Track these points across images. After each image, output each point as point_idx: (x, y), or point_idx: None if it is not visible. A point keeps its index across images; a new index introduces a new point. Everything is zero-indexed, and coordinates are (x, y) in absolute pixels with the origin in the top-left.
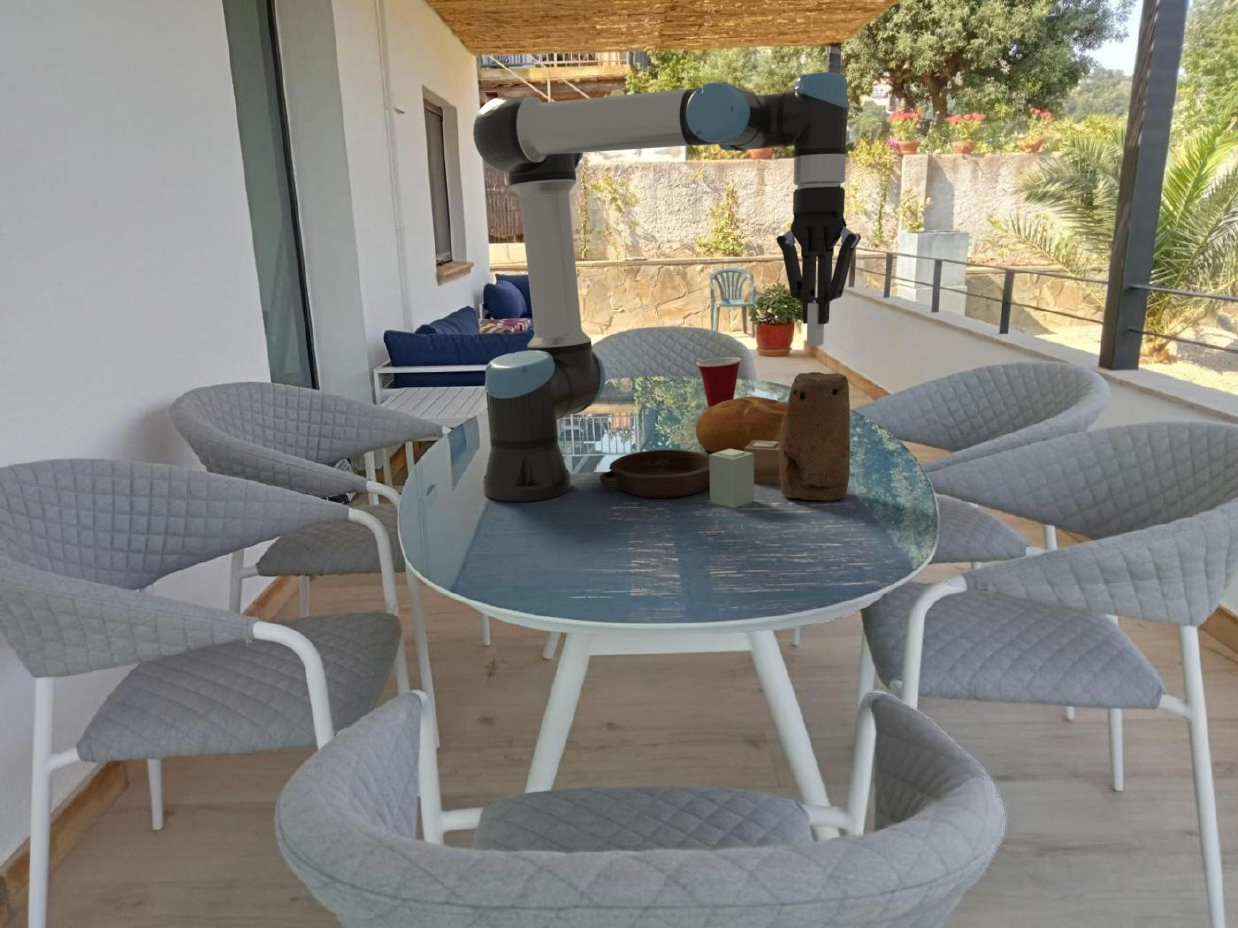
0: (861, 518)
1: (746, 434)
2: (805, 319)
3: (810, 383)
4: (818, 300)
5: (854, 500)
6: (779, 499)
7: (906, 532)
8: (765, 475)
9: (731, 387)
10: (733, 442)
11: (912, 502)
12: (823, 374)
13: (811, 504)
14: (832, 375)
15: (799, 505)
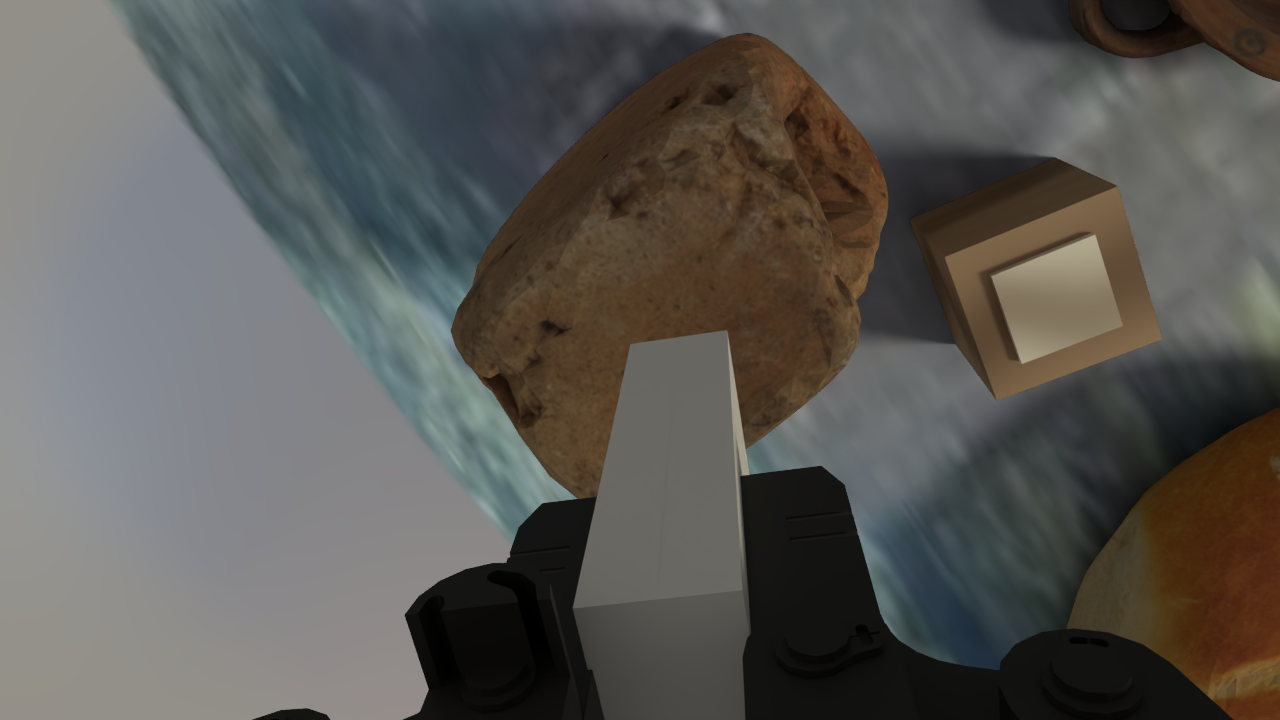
0: (396, 42)
1: (1273, 451)
2: (799, 496)
3: (626, 162)
4: (485, 600)
5: None
6: (778, 34)
7: (192, 10)
8: (971, 203)
9: None
10: None
11: (386, 323)
12: None
13: (638, 65)
14: None
15: (667, 21)
